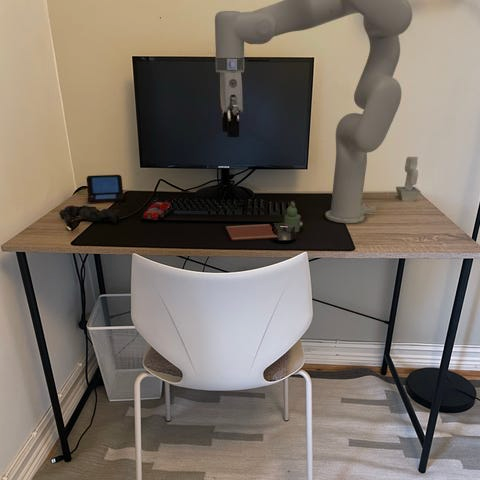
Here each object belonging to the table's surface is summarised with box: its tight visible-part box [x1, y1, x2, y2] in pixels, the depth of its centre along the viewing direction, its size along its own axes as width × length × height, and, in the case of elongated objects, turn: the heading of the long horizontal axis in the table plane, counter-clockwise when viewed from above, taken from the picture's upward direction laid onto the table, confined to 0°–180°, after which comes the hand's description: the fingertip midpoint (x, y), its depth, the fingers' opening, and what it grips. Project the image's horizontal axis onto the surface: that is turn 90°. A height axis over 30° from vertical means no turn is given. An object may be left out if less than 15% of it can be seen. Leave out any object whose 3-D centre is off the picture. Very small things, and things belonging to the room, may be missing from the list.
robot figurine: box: [58, 204, 122, 227], centre depth 154 cm, size 18×4×20 cm
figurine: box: [395, 156, 422, 202], centre depth 176 cm, size 7×9×15 cm
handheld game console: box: [86, 174, 125, 204], centre depth 175 cm, size 12×11×7 cm
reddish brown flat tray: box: [225, 223, 280, 241], centre depth 146 cm, size 14×12×1 cm
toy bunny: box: [283, 200, 303, 233], centre depth 146 cm, size 6×5×9 cm
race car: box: [143, 201, 172, 221], centre depth 159 cm, size 13×5×4 cm, turn 161°
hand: (230, 134), depth 137 cm, fingers open, 9 cm apart
